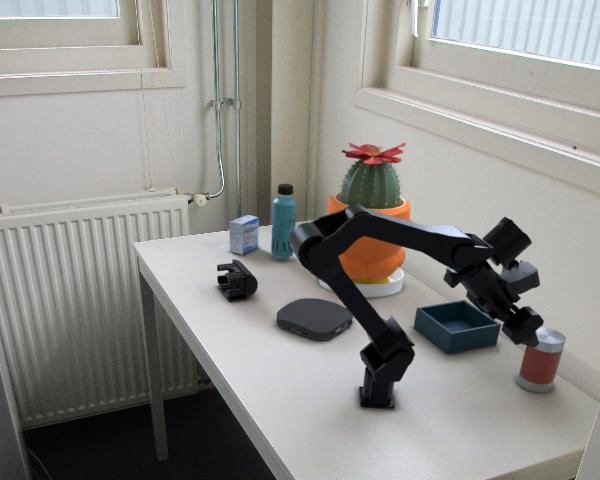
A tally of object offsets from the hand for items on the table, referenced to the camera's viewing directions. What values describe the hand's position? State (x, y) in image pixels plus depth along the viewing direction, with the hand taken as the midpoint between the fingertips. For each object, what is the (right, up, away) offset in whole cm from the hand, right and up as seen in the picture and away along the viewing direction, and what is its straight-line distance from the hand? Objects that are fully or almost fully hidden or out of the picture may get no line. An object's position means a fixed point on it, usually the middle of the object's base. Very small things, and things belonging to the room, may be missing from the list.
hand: (523, 333), depth 128 cm
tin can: (+5, -9, +8) cm, 13 cm away
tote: (-8, +2, +23) cm, 25 cm away
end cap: (-58, +13, +36) cm, 70 cm away
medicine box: (-58, +29, +61) cm, 89 cm away
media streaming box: (-39, +5, +25) cm, 47 cm away
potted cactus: (-27, +16, +43) cm, 53 cm away
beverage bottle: (-47, +26, +57) cm, 78 cm away
